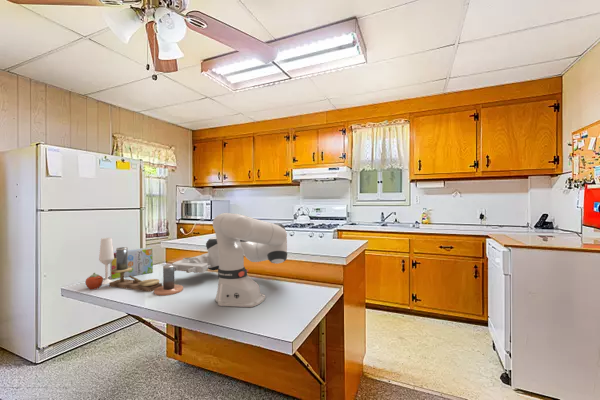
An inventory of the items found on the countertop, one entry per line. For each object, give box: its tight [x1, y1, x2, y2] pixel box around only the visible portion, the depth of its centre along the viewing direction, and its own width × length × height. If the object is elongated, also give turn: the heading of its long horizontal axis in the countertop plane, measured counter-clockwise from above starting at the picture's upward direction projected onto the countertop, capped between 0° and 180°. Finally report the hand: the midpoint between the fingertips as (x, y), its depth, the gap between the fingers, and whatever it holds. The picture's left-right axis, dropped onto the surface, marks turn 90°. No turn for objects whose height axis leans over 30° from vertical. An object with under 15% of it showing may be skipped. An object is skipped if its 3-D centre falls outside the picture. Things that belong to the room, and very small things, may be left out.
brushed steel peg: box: [162, 264, 175, 290], centre depth 141 cm, size 5×5×11 cm
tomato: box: [84, 272, 104, 290], centre depth 145 cm, size 7×7×8 cm
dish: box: [153, 283, 184, 296], centre depth 141 cm, size 13×13×1 cm
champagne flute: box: [98, 237, 114, 285], centre depth 154 cm, size 7×7×24 cm
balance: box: [108, 267, 163, 292], centre depth 147 cm, size 27×9×8 cm, turn 73°
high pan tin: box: [115, 246, 129, 270], centre depth 150 cm, size 5×5×11 cm
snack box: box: [109, 247, 154, 280], centre depth 169 cm, size 21×6×15 cm, turn 130°
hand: (179, 270), depth 149 cm, fingers open, 8 cm apart
